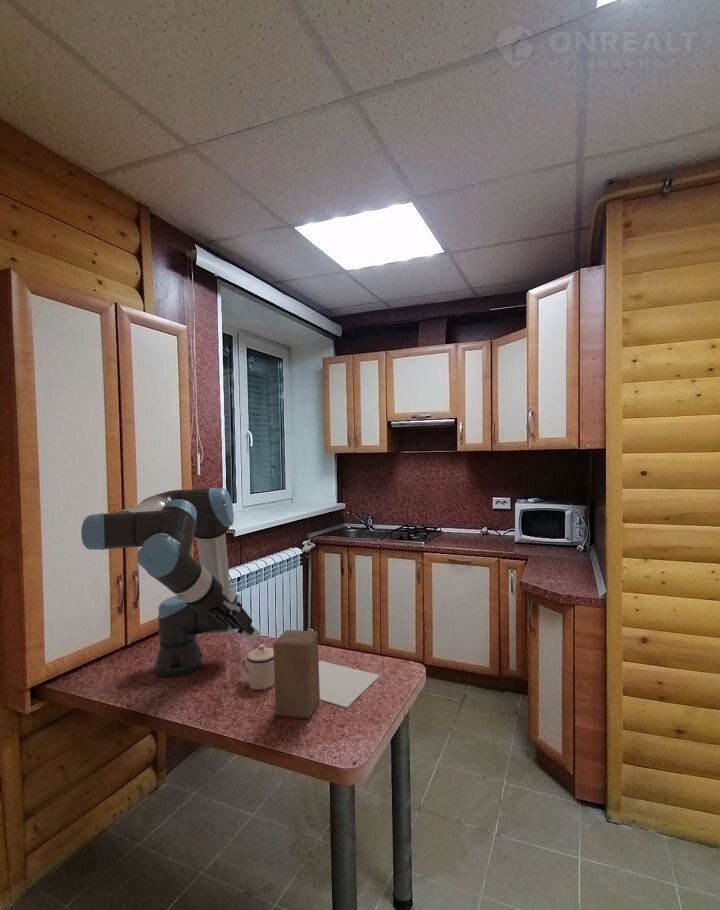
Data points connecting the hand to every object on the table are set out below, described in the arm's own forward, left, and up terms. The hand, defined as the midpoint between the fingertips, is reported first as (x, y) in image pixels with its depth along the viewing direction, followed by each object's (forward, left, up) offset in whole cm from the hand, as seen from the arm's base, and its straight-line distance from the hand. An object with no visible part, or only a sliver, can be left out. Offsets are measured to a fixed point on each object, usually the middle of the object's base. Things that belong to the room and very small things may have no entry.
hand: (255, 637), depth 112 cm
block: (0, +16, -26) cm, 30 cm away
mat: (0, +32, -25) cm, 41 cm away
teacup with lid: (-20, +22, -26) cm, 39 cm away
